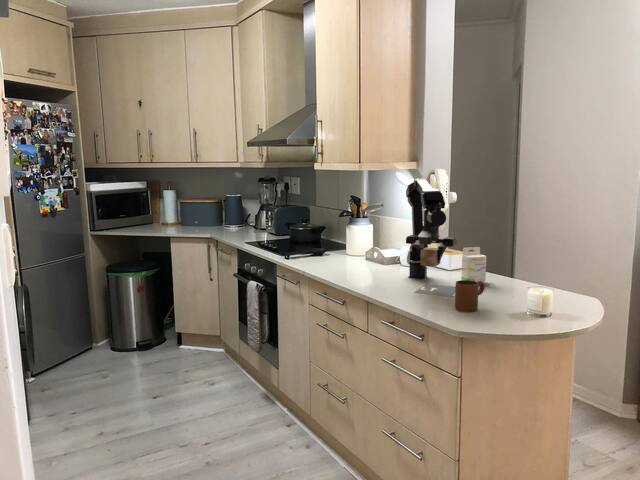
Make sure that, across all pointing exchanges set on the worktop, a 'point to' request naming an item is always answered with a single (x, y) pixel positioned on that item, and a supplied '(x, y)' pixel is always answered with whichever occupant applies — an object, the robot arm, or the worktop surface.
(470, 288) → the mug
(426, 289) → the mat
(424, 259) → the walnut cube
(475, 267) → the ink box
